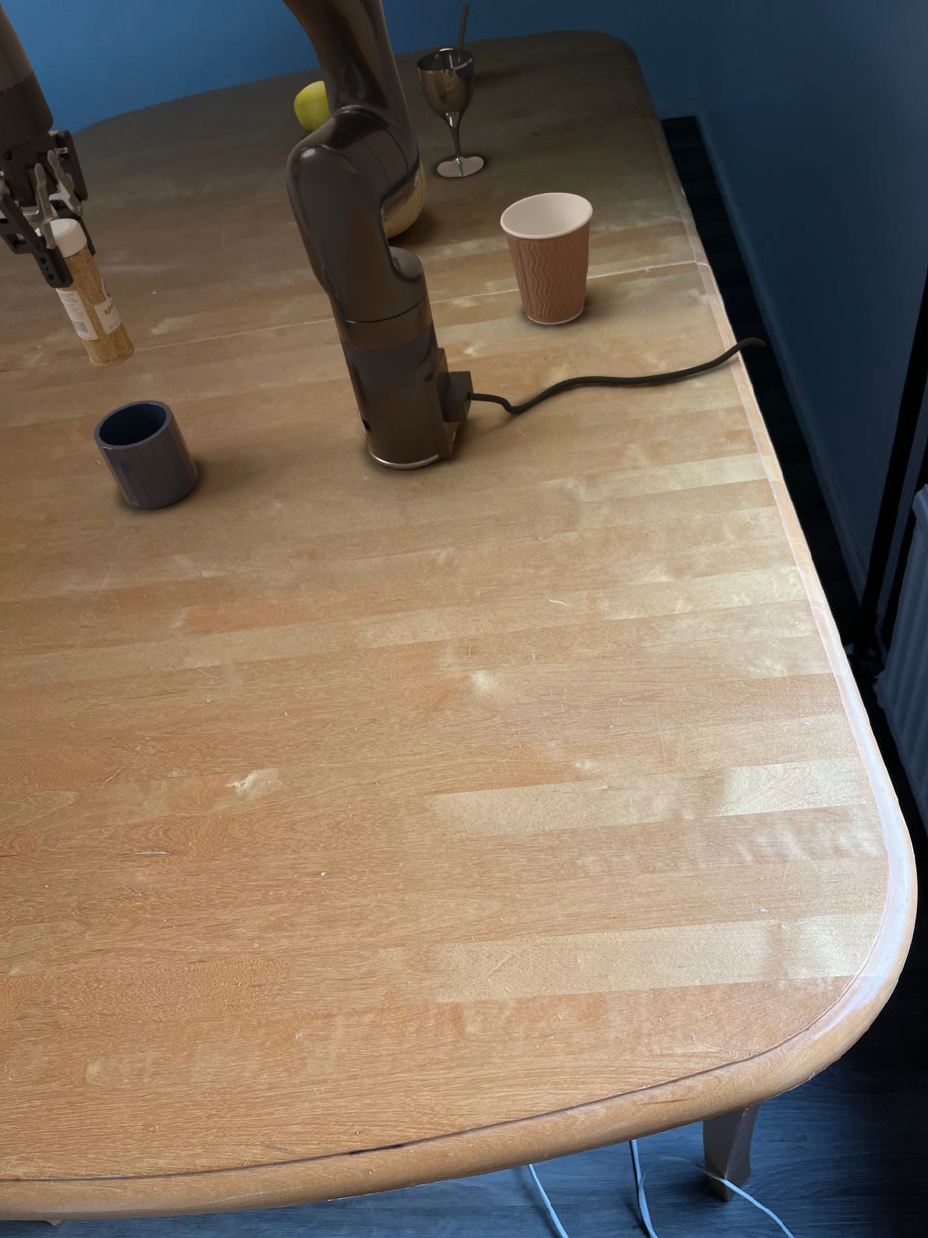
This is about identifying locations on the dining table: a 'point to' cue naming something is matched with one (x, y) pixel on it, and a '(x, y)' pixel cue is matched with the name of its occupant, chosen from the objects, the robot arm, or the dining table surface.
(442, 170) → the wine glass
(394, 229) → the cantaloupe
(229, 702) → the dining table surface
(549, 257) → the coffee cup
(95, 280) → the sprinkles bottle
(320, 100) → the apple
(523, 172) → the dining table surface
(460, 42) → the dark thin bar
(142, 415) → the holder cup
